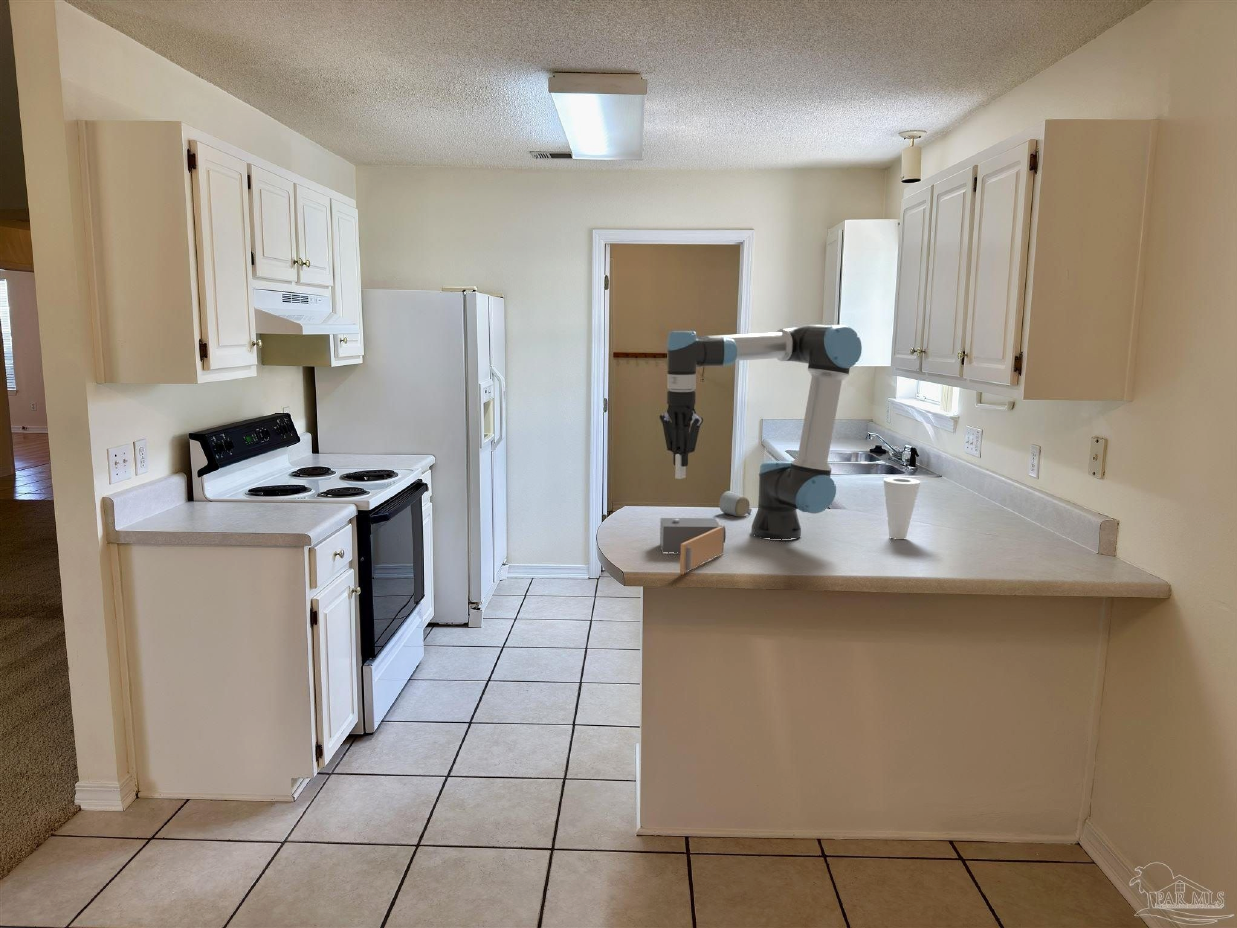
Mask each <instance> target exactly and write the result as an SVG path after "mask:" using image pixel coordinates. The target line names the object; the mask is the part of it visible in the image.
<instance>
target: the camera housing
mask: <svg viewBox="0 0 1237 928" xmlns="http://www.w3.org/2000/svg"><path fill="white" fill-rule="evenodd" d="M659 521H660V525H659V527H660V528H659V531H660V532H659V546H660V545H661V546H660V549H661V548H662V550H661V552H662V551H663V552H668V553H669V552H674V553H677V552H678V553H681V544H682V543H684V542H686V541H689V540H691V539H693V538H695V537H697V536H700V535H702V534H704V533H706V532H709V531H711V530H713V529H715V528H718V527H720V526H721V525H720V524H719V521H717V519H716V518H715V517H712V518H711V517H704V518H703V517H701V518H700V517H695V518H694V517H660V520H659ZM723 526H724V544H725V542H726V538H727V537H726V536H727V535H726V533H727V532H726V526H725V525H723Z"/></svg>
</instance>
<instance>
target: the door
mask: <svg viewBox="0 0 1237 928" xmlns="http://www.w3.org/2000/svg"><path fill="white" fill-rule="evenodd" d="M724 526H725V525H720V527H718V528H715V529H713V530H711V531H709V532H706V533H704V534H702V535H700V536H697V537H695V538H693V539H691V540H689V541H686V542H684V543H682V544H681V554H679V558H680V561H679V564H680V565H679V574H680V573H681V574H680V575H685V574H686V573H685V572H687V571H688V570H690V569H693V568H694V567H696V566H698V565H700V564H702V563H703V562H706V561H708V560H709V559H712V558H714V557H715V556H718V555H720V554H722V553H723V554H724V547H725V545H724V544H725V543H724ZM720 556H721V555H720ZM693 570H694V569H693ZM684 573H685V574H684ZM687 573H688V572H687Z"/></svg>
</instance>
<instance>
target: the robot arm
mask: <svg viewBox="0 0 1237 928" xmlns="http://www.w3.org/2000/svg"><path fill="white" fill-rule="evenodd" d="M667 336H668V337H667V345H666V352H667V353H666V355H667V360H666V361H667V364H666V366H667V374H666V375H667V376H666V377H667V379H666V381H667V382H666V383H667V385H666V386H667V389H668V391H667V392H666V404H667V405H668V406H667V409H666V412H665V413H664V414H661V415H659V420H660V422H661V424H662V430H663V433H664V440H665V446H666V450H667V451H668V452H671V453H672V455H673V457H672V458H673V461H672V462H673V466H675V470H674V472H675V473H674V474H675V475H674V479H678V480H681V479H685V478H686V477H687V476H686V475H687V473H686V472H687V469H686V468H687V467H688V465H689V454H692V453H694V452H695V451H696V447H697V446H696V445H697V441H698V437H699V433H700V428H701V426H702V424H703V422H704V418H703V417H699V416H698V415H697V412H696V409H695V406H696V399H697V398H696V396H697V395H696V391H695V390H696V388H697V368H700V367H701V368H703V367H721V368H724V367H725V366H726V367H728V366H732V365H733V364H734V363H735V362H738V361H752V360H753V361H754V360H771V359H776V360H778V361H780V362H796V363H802V364H807V371H808V373H809V374H810V375H811V380H810V383H809V384H810V385H809V390H808V395H807V402H806V407H805V413H804V418H803V425H802V431H801V436H800V441H799V445H798V446H799V448H798V453H797V457H796V458H795V459H793V460H772V461H765V462H762V463H761V464H760V468H759V473H758V477H759V478H758V479H759V480H758V505H757V511H756V514H755V517H754V518H753V521H752V524H751V528H750V529H751V530H750V531H751V533H752V534H753V535H752V534H751V533H750V534H751V535H752V536H754V535H755V536H754V537H756V538H759V537H761V538H760V539H763V538H770V539H781V540H782V539H791V538H798V537H800V536H802V527H801V524H800V523H801V522H800V520H799V517H798V512H797V510H798V511H800V512H802V513H808V514H813V515H814V514H819V513H822V512H825V511H826V509H828V508H829V507H830V506H831V505H832V503H833V502H834V501H835V497H836V495H837V486H836V484H835V481H834V480H833V478H831V475H832V468H831V466H830V464H829V463H828V461H829V455H830V450H831V444H832V438H833V433H834V427H835V421H836V417H837V412H838V411H837V410H838V404H839V400H840V399H839V398H840V393H841V388H842V382H843V380H844V379H846V378H847V377H849V375H850V369H851V368H852V367H853V366H855V365H856V363H857V362H859V360H860V358H861V356H862V351H863V348H862V341H861V338H860V336H859V335H858V333H857V331H856V330H854V329H853V328H852V327H850V326H847V325H841V324H807V325H801V326H796V327H788V328H779V329H778V330H776V332H762V333H761V332H759V333H739V334H719V335H718V334H717V335H714V334H713V335H699V336H697V332H696V331H694V330H673V331H670V332H669V333H668V335H667ZM800 538H801V537H800ZM798 539H799V538H798ZM781 540H780V541H781Z"/></svg>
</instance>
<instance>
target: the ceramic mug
mask: <svg viewBox="0 0 1237 928" xmlns="http://www.w3.org/2000/svg"><path fill="white" fill-rule="evenodd" d="M718 505H719V509H720V511H721V512H722V513H723V514H726V515H729V516H730V515H732V516H733V517H737V518H738V517H740V518H741V517H745V516H746V515H747V513H748V514H752V511H753V510H752V508H750V506H751V504H750V500H749V498H748V497H746V496H745V495H743V494H738V493H737V492H733V491H731V490H727V491H725V492H724V493H723V494H721V496H720V499H719V503H718Z"/></svg>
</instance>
